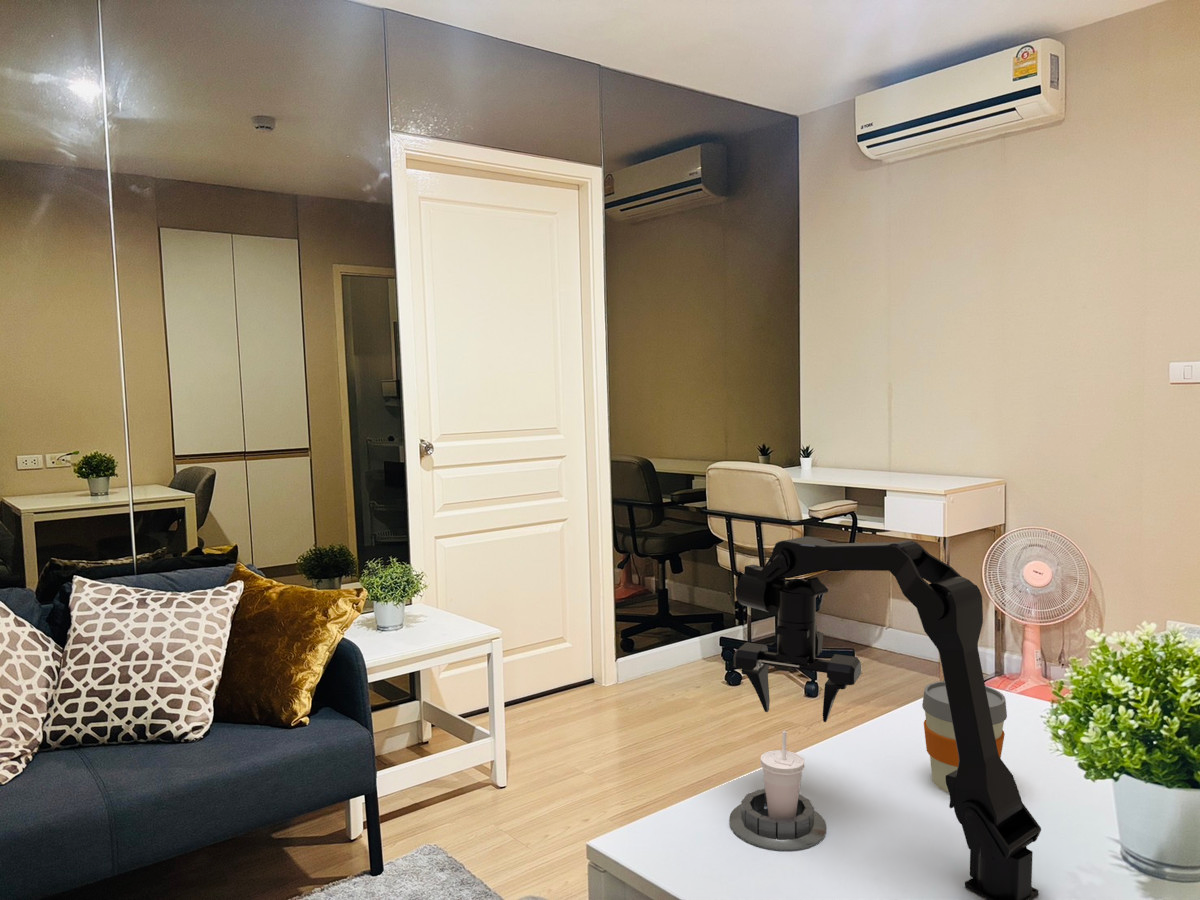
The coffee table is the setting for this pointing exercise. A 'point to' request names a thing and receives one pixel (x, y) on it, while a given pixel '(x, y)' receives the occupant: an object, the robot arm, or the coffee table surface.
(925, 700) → the reusable coffee cup
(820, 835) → the mount
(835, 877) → the coffee table surface
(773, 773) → the smoothie
